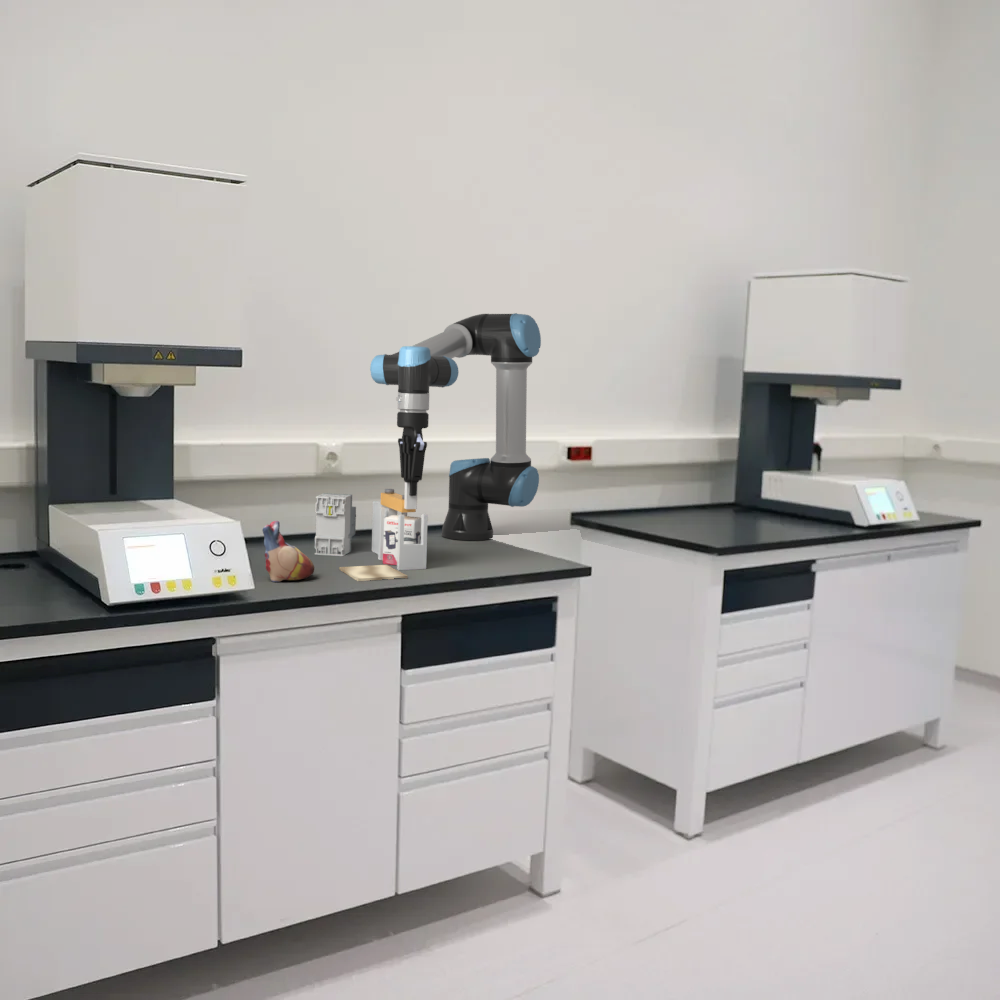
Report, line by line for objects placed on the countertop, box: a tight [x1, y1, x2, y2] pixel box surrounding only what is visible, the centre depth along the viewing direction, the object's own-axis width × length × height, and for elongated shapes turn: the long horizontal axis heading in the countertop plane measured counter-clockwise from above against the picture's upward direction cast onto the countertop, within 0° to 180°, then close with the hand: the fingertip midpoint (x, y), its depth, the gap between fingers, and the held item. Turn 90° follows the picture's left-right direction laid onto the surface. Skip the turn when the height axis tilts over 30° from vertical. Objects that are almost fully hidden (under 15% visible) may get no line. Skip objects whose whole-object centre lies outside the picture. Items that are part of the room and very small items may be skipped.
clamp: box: [371, 500, 429, 571], centre depth 252 cm, size 7×26×13 cm, turn 26°
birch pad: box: [338, 564, 408, 582], centre depth 234 cm, size 12×14×1 cm
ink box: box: [382, 514, 421, 566], centre depth 247 cm, size 8×5×12 cm, turn 72°
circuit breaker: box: [314, 492, 357, 557], centre depth 262 cm, size 8×14×15 cm, turn 174°
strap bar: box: [380, 488, 417, 513], centre depth 249 cm, size 4×15×4 cm, turn 26°
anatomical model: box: [262, 520, 315, 583], centre depth 223 cm, size 10×9×15 cm
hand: (410, 508), depth 242 cm, fingers closed
